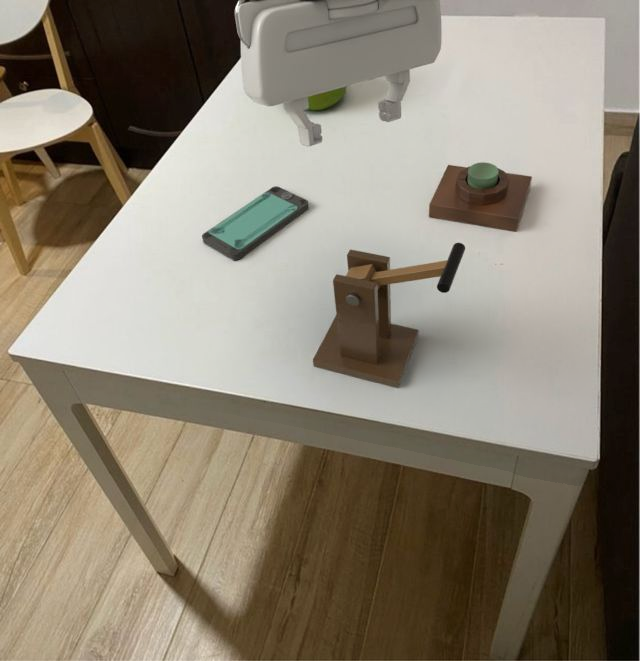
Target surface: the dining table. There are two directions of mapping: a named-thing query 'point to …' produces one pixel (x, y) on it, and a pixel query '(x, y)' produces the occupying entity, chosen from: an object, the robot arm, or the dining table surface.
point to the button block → (480, 199)
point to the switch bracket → (365, 328)
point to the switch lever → (414, 271)
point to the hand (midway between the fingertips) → (352, 131)
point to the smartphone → (255, 222)
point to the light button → (482, 175)
